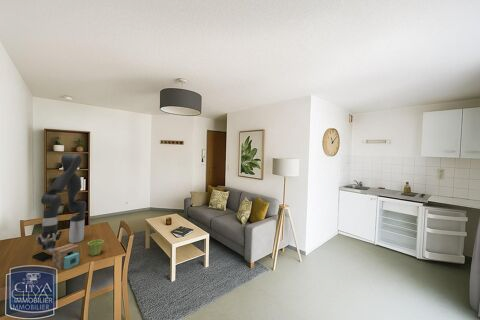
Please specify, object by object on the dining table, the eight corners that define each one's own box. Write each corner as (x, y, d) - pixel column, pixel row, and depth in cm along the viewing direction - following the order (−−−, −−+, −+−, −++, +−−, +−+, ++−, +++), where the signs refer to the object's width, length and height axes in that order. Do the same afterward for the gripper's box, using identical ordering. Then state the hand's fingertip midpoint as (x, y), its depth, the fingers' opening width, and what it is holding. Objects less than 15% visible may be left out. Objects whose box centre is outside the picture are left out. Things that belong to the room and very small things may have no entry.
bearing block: (52, 266, 125) (53, 249, 125) (70, 259, 134) (71, 243, 134) (60, 269, 122) (61, 251, 122) (77, 261, 132) (78, 245, 132)
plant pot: (92, 250, 147) (93, 239, 148) (105, 251, 148) (106, 239, 148) (83, 256, 138) (84, 244, 138) (97, 257, 139) (98, 244, 139)
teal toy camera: (63, 268, 123) (64, 257, 123) (75, 263, 130) (76, 252, 130) (66, 269, 122) (67, 258, 122) (78, 264, 129) (79, 253, 129)
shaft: (44, 250, 134) (45, 241, 134) (49, 248, 136) (50, 239, 136) (64, 256, 127) (65, 246, 127) (69, 254, 129) (69, 245, 129)
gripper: (59, 220, 142) (57, 243, 142) (33, 225, 129) (31, 251, 129) (65, 221, 140) (64, 245, 140) (39, 227, 127) (38, 254, 126)
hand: (48, 248), depth 134 cm, fingers open, 4 cm apart
